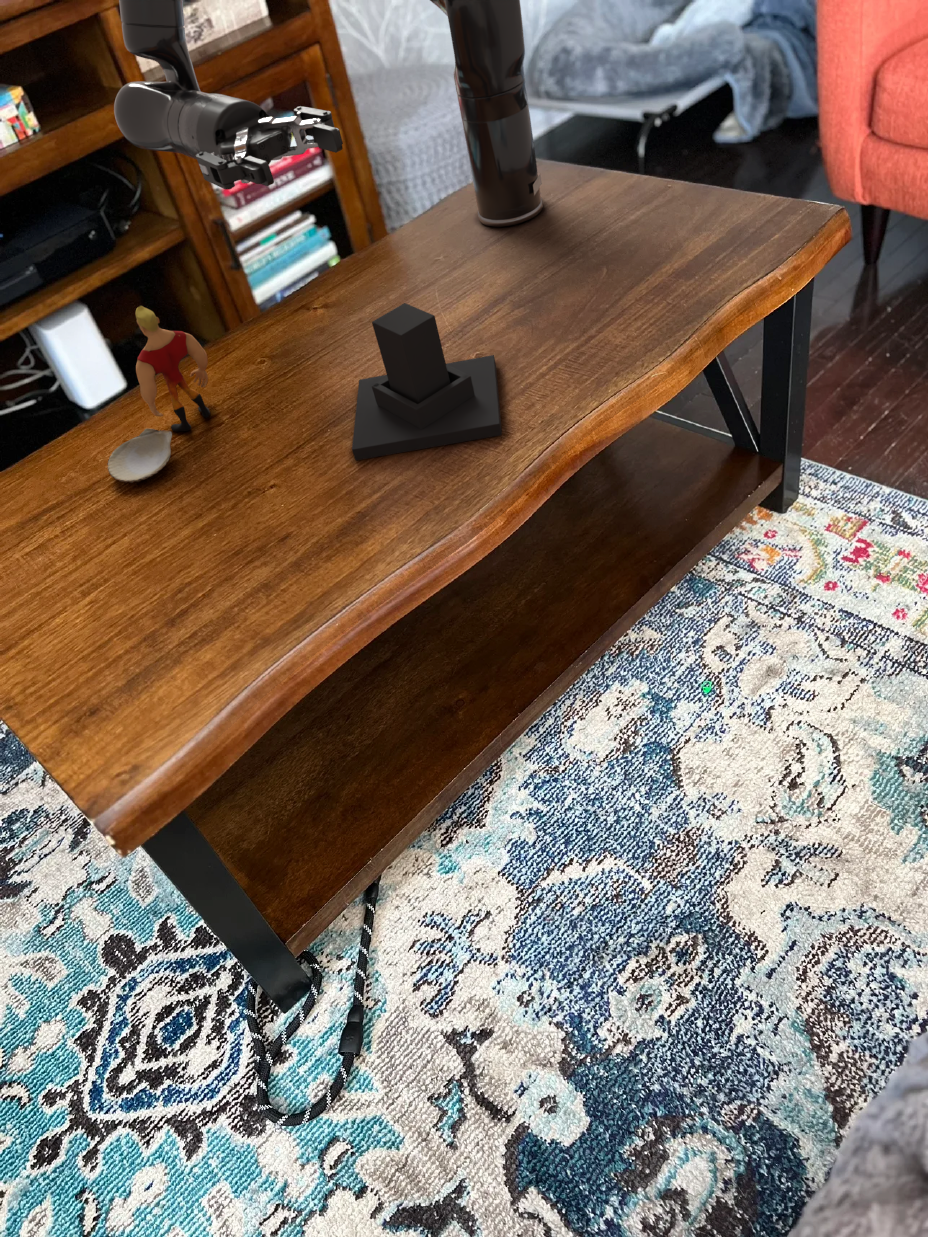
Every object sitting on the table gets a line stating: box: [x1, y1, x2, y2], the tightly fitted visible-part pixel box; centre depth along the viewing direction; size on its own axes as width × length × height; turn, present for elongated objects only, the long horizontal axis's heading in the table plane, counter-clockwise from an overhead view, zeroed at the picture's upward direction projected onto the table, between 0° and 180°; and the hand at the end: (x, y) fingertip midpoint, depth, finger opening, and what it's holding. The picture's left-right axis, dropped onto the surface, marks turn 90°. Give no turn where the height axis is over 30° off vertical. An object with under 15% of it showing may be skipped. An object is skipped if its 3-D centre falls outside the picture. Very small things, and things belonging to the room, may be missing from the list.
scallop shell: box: [106, 428, 173, 483], centre depth 109 cm, size 8×3×8 cm
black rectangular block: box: [371, 302, 450, 404], centre depth 103 cm, size 5×4×10 cm
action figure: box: [135, 305, 211, 432], centre depth 110 cm, size 10×4×15 cm, turn 139°
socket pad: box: [351, 354, 503, 461], centre depth 106 cm, size 14×16×4 cm
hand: (304, 157), depth 96 cm, fingers open, 8 cm apart
